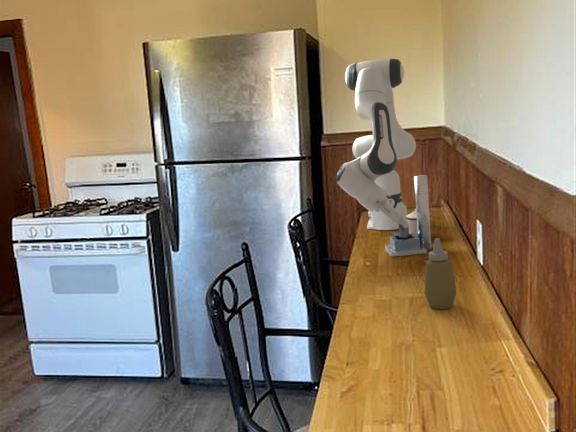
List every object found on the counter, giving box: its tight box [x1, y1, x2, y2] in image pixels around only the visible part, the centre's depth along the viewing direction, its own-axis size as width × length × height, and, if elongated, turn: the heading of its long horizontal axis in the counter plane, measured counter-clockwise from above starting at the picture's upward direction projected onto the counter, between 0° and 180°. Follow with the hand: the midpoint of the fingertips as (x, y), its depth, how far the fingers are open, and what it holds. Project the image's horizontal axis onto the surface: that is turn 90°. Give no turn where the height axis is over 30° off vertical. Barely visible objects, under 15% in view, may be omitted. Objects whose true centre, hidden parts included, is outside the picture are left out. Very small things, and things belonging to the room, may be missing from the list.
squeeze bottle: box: [424, 237, 457, 310], centre depth 153 cm, size 8×8×18 cm
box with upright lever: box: [384, 174, 432, 258], centre depth 212 cm, size 18×15×26 cm
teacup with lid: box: [406, 208, 432, 236], centre depth 227 cm, size 12×9×12 cm
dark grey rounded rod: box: [398, 222, 409, 240], centre depth 211 cm, size 3×3×10 cm
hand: (404, 223), depth 210 cm, fingers open, 8 cm apart
